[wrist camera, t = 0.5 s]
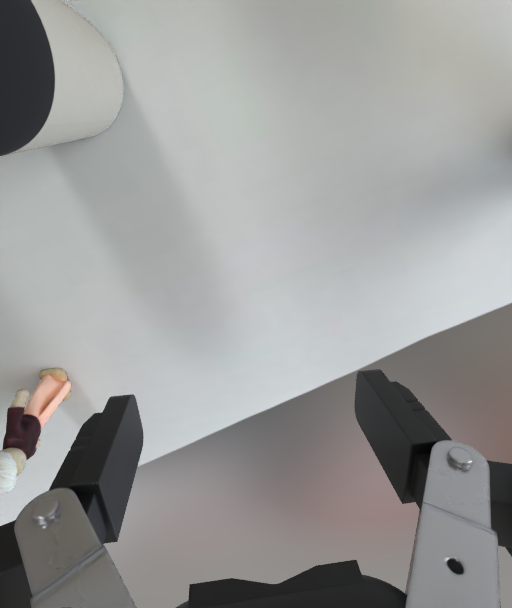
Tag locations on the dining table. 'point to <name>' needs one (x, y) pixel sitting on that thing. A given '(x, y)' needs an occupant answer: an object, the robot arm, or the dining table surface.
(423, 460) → the robot arm
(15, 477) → the grandmother figurine
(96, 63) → the travel mug
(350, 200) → the dining table surface
